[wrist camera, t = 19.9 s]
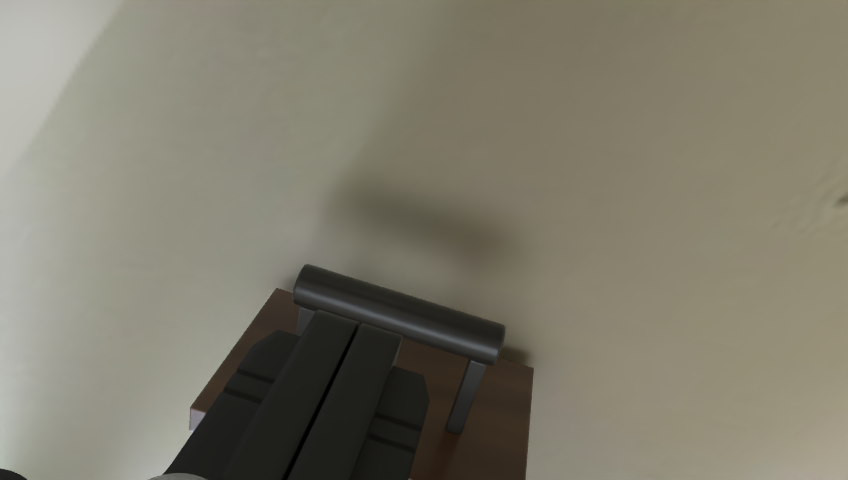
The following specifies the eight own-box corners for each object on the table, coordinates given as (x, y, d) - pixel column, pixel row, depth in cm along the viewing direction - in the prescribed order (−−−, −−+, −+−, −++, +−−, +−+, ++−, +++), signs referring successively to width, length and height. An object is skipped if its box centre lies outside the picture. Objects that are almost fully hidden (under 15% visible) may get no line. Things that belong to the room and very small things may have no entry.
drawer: (289, 189, 25) (194, 292, 19) (574, 275, 25) (575, 412, 18) (250, 484, 35) (179, 618, 28) (455, 552, 34) (428, 705, 28)
